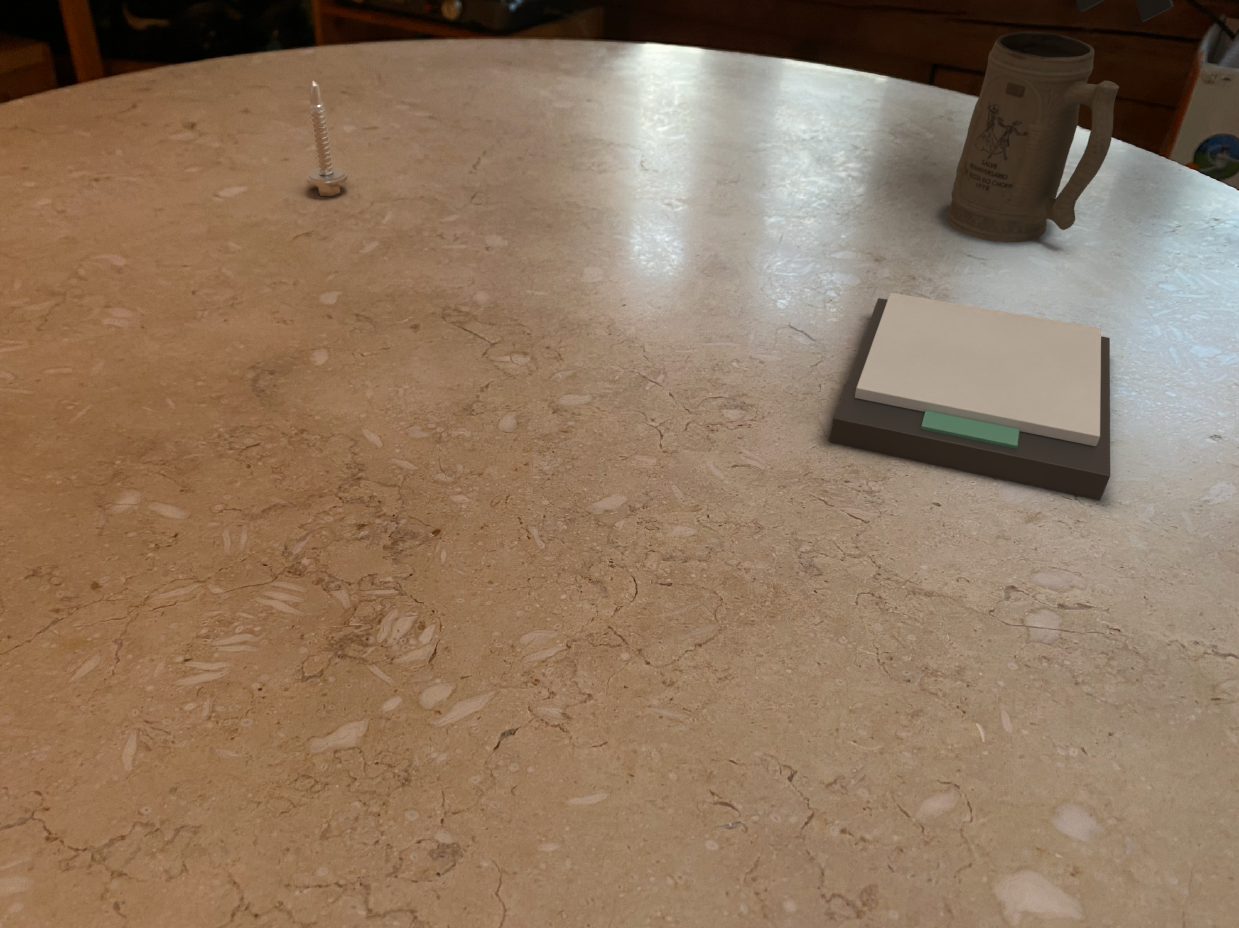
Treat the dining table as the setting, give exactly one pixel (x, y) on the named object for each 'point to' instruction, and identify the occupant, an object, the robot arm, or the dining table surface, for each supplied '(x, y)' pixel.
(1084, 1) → the robot arm
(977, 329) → the scale
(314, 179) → the screw
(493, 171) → the dining table surface
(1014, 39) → the beer stein
